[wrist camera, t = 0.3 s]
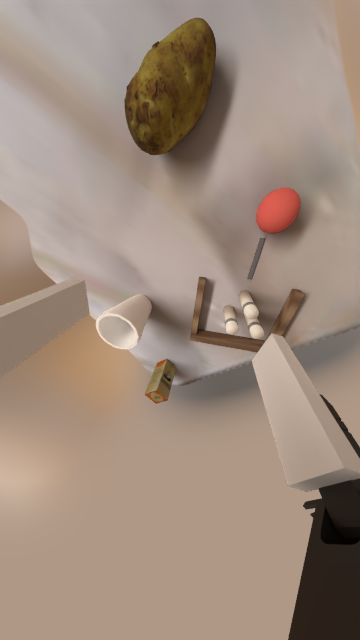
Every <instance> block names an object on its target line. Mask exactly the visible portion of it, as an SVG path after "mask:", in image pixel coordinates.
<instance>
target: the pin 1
mask: <svg viewBox="0 0 360 640" xmlns="http://www.w3.org/2000/svg"><path fill="white" fill-rule="evenodd" d="M224 317H225V326H226V331H227V333H228V334H230V335H234V334H236V333H237V332H238V331H239V329H238V324H237V321H236V317H235V313H234V309H233V307H232V306H230V305H228V306H225V307H224Z"/></svg>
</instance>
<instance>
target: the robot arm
mask: <svg viewBox="0 0 360 640" xmlns="http://www.w3.org/2000/svg"><path fill="white" fill-rule="evenodd" d="M88 314H90V313H89V306H88V299H87V293H86V286H85V280H82V279H78V278H75V277H74V278H71V279H69V280H66V281H64V282H61V283H59V284H56V285H53V286H51V287H48V288H46V289H43V290H40V291H38V292H35V293H33V294H30V295H27V296H25V297H22V298H20V299H17V300H14V301H12V302H9V303H7V304H4V305H2V306H0V378H2V377H3V376H4V375H6V374H7V373H9V372H10V371H11V370H13V369H14V368H15V367H17V366H18V365H20V364H21V363H22V362H24V361H25V360H26V359H28V358H29V357H30V356H32V355H33V354H35V353H36V352H37V351H39V350H40V349H42V348H43V347H44V346H45V345H47V344H48V343H50V342H51V341H53V340H54V339H55V338H57V337H58V336H59V335H61V334H62V333H63V332H65V331H66V330H68V329H69V328H70V327H72V326H73V325H74V324H76V323H77V322H79V321H80V320H81V319H83V318H84V317H85V316H87V315H88ZM252 363H253V367H254V370H255V374H256V377H257V380H258V384H259V388H260V391H261V394H262V398H263V401H264V405H265V408H266V412H267V415H268V419H269V422H270V425H271V429H272V432H273V436H274V439H275V443H276V446H277V450H278V453H279V457H280V460H281V464H282V467H283V470H284V474H285V478H286V481H287V485H288V486H290V487H293V488H297V489H300V490H303V491H306V492H308V491H312V490H316V489H319V491H320V494H321V496H322V499H317V500H312V501H307V502H305V503H304V505H303V507H304V508H305V509H312V508H315V512H314V513H311V516H312V517H313V523H312V528H311V533H310V537H309V542H308V547H307V552H306V557H305V561H304V566H303V571H302V576H301V581H300V585H299V591H298V595H297V600H296V605H295V610H294V614H293V619H292V624H291V629H290V633H289V638H288V640H360V447H359V445H358V444H357V442H356V441H355V439H354V438H353V436H352V435H351V434H350V433H349V432H348V429H347V427H346V426H345V424H344V423H343V422H342V421H341V418H340V417H339V415H338V414H337V412H336V411H335V409H334V408H333V406H332V405H331V404H330V403H329V402H328V401H327V400H326V399H325V398H324V397H323V396H322V395H320V394H319V393H318V392H317V390H316V388H315V387H314V385H313V384H312V382H311V380H310V379H309V377H308V376H307V374H306V372H305V371H304V369H303V368H302V366H301V364H300V363H299V361H298V360H297V358H296V357H295V355H294V353H293V352H292V350H291V349H290V347H289V345H288V344H287V342H286V341H285V339H284V337H283V336H279V335H276V334H272V333H271V335H270V336H269V337H268V339H267V340H266V342H265V343H264V344H263V346H262V347H261V348H260V350H259V351H258V353H257V354H256V355H255V357H254V358H253V359H252Z"/></svg>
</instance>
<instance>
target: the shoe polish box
mask: <svg viewBox="0 0 360 640" xmlns="http://www.w3.org/2000/svg"><path fill="white" fill-rule="evenodd" d="M175 370H176V367H175V366H174V365H173V364H172V363H171V362H170V361H169V360H168V359H166V360H163V361H161V362H159V363H157V365H156V367H155V370H154V372H153V375H152V377H151V380H150V382H149V385H148V387H147V390H146V393H145V395H146V396H147V397H149V398H150V399H151V400H152V401H153V402H155V403H160V402H163V401H167V400H168V397H169V393H170V389H171V385H172V382H173V378H174V374H175Z"/></svg>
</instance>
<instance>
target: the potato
mask: <svg viewBox="0 0 360 640" xmlns="http://www.w3.org/2000/svg"><path fill="white" fill-rule="evenodd" d="M215 58H216V43H215V37H214V34H213V31H212V29H211V27H210V26H209V25H208V23H207V22H206V21H205V20H203V19H201V18H193V19H191V20H189V21H187V22H185V23H184V24H182V25H181V26H180V27H178V28H177V29H175V30H174V31H173V32H172V33H170V34H169V35H168V36H167V37H166V38H164V39H163V40H162V41H160V42H157V43H155V44H154V45H153V46H152V49H151V50H149V51H148V53H147V54H146V56H145V57H144V59H143V61H142V64H141V66H140V69H139V71H138V72H137V73H136V74H135V76H134V77H133V78H132V80H131V82H130V83H129V85H128V86H127V92H126V97H125V114H126V120H127V124H128V128H129V130H130V133H131V135H132V137H133V139H134V141H135V143H136V144H137V146H138V147H139V148H140V149H141V150H143V151H144V152H146V153H149V154H150V155H160V154H163V153H166V152H169V151H170V150H171V149H172V148H173V147H174V146H175V145H176V144H178V143H179V141H180V140H181V139H182V138H183V137H184V136H185V135H187V134H188V133H189V132H190V131H191V130H192V129H193V128H194V126H195V124H196V123H197V121H198V119H199V118H200V116H201V114H202V112H203V110H204V108H205V105H206V103H207V100H208V97H209V93H210V89H211V83H212V77H213V72H214V66H215Z"/></svg>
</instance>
